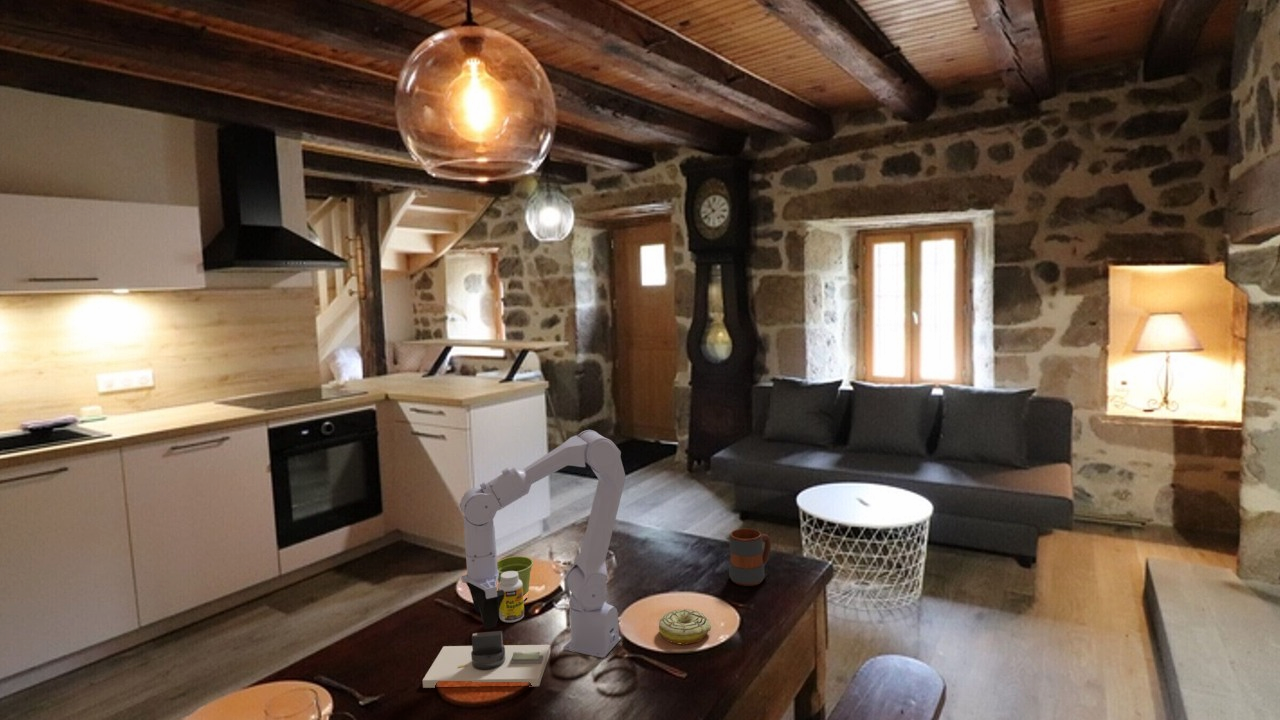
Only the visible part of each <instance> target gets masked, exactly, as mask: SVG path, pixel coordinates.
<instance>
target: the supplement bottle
mask: <svg viewBox="0 0 1280 720" xmlns="http://www.w3.org/2000/svg"><path fill="white" fill-rule="evenodd" d="M499 590H503V591H504V592H505V596H504V598H503V600H502V602H501V605H500V608H499V613H498V618H499V619H500V621H502V622H504V623H515V622H518V621H520V620H522V619H523V618H524V617H525V604H524V602H525V601H524V600H523V583H522V581H521V580H519V575H518V572H516V571H507V572H504V573H502V574H501V582H500V583H499V582H498V584H497V591H499Z"/></svg>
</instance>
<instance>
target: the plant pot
mask: <svg viewBox="0 0 1280 720" xmlns="http://www.w3.org/2000/svg"><path fill="white" fill-rule="evenodd" d="M533 565H534V560H533V559H532V558H531V557H527V556H523V555H522V556H521V555H519V556H517V555H516V556H508V557H505V558H502V559H500V560H497V569H498V571H499V577H498V581H497V583H498V584H499V583H500V582H501V574H502V573H504V572H507V571H516V572H518V575H519V580H521V581H522V583H523V596H524V595H525V594H526V593H527V592H528V591H529V592H530V580H531V579H530V577H531V571H532V566H533Z"/></svg>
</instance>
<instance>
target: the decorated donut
mask: <svg viewBox="0 0 1280 720" xmlns="http://www.w3.org/2000/svg"><path fill="white" fill-rule="evenodd" d="M658 628H659V629H658V630H659V632H660V634H661V636H662V637H663V638H665V639H666V640H667V641H668V640H669V642H670V641H672V642H675V643H674V644H677V643H681V644H680V645H683V644H684V645H687V644H686V643H690V644H695V643H694V642H696V643H698V642H700V641H702V640H703V639H704V638H705V636H706V635H707V634H708V633H709V632H710V631H711V629H712V624H711V621H710V619H709V618H708V616H707V615H705V613H703V612H700V611H699V610H697V609H696V610H695V609H694V608H693V609H689V608H688V609H685V608H684V609H676V610H673V611H669V612H667V613H665V614H663V615H662V616H661V617H660V618H659V621H658ZM697 641H698V642H697ZM672 642H671V643H672Z"/></svg>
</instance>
